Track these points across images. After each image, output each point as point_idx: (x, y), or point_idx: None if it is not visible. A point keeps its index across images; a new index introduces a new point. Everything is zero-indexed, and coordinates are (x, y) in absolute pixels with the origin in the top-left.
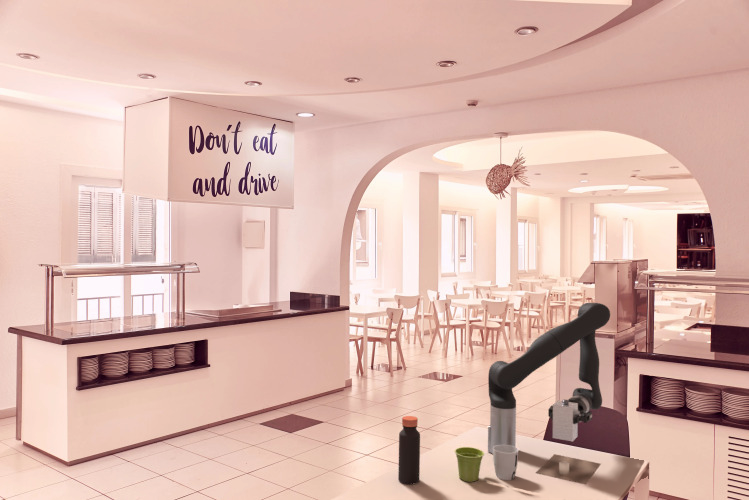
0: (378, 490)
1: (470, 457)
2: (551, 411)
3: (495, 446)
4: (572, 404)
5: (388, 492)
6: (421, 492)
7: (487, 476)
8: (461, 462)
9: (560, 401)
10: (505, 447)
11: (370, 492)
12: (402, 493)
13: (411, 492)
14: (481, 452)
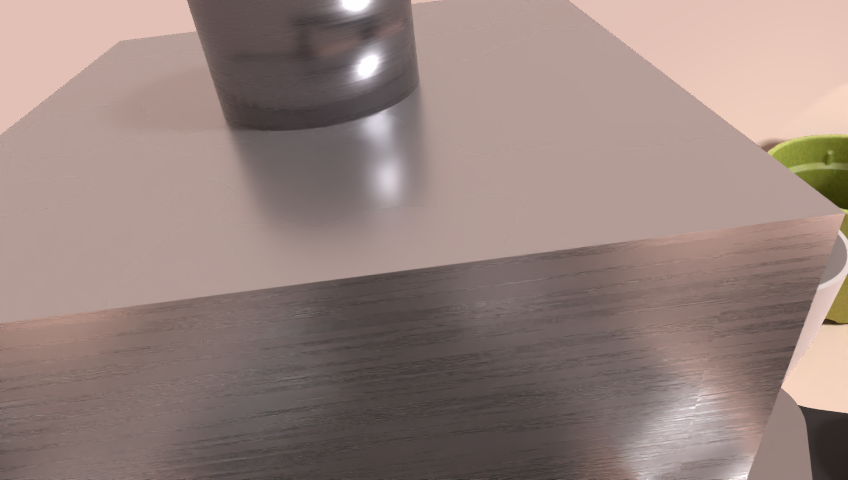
0: (843, 105)
1: (776, 145)
2: (835, 422)
3: (836, 237)
4: (91, 139)
5: (814, 112)
6: (765, 148)
7: (801, 363)
8: (823, 178)
9: (611, 157)
10: (819, 296)
11: (837, 94)
12: (787, 124)
13: (781, 137)
14: (845, 215)
